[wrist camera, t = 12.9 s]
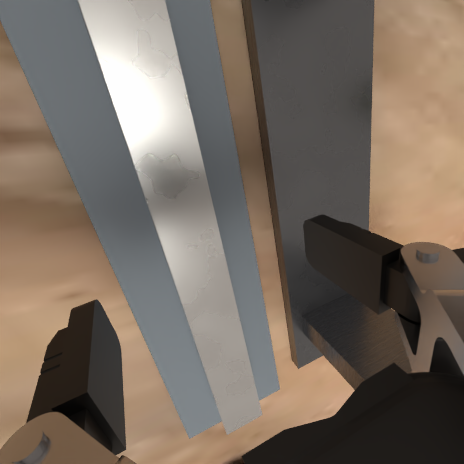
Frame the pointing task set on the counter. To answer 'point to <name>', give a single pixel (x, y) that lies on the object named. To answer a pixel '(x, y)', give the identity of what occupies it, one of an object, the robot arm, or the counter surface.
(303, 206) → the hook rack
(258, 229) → the counter surface
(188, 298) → the steel rail
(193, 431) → the blue-gray flat board
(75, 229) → the counter surface
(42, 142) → the counter surface
